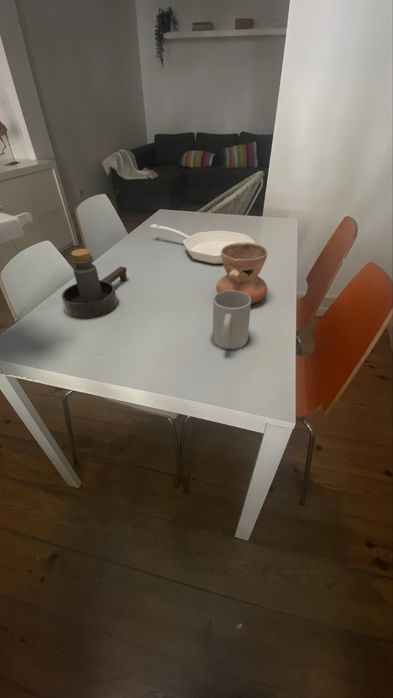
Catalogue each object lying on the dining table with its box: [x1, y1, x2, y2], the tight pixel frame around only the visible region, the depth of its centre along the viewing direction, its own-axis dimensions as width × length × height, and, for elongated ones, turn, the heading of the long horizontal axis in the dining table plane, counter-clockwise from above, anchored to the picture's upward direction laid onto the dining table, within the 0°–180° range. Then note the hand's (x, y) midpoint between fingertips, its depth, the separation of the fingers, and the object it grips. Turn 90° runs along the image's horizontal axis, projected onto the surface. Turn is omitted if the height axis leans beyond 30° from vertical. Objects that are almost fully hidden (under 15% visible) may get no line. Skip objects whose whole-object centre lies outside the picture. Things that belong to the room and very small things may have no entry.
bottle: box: [70, 248, 103, 303], centre depth 86 cm, size 6×6×15 cm
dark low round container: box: [61, 279, 118, 320], centre depth 90 cm, size 14×14×4 cm
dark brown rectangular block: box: [100, 266, 128, 284], centre depth 99 cm, size 2×11×4 cm, turn 159°
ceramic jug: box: [215, 242, 268, 305], centre depth 89 cm, size 18×14×14 cm
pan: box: [149, 223, 257, 265], centre depth 122 cm, size 25×44×6 cm, turn 59°
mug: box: [211, 290, 252, 350], centre depth 72 cm, size 12×8×11 cm
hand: (17, 213), depth 66 cm, fingers open, 8 cm apart
